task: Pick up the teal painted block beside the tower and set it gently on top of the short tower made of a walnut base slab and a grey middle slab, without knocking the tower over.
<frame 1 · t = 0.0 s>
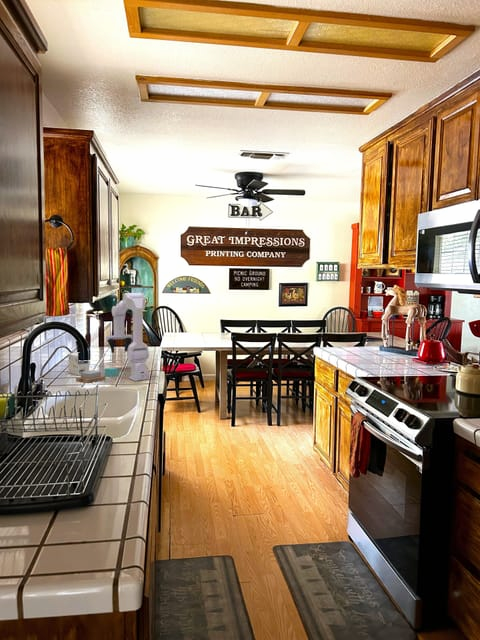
hand: (119, 351, 269), 10 cm above the countertop, tool pointing down, fingers open, 7 cm apart
teal block: (111, 375, 254), on the countertop
walnut base slab: (90, 381, 241), on the countertop, touching grey middle slab
light bulb box: (79, 373, 260), on the countertop
grey middle slab: (90, 377, 241), point 2 cm above the countertop, touching walnut base slab
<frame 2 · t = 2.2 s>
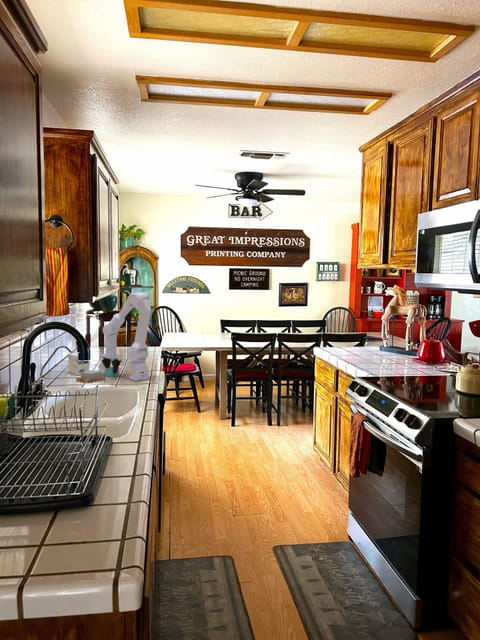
hand: (111, 372, 254), 1 cm above the countertop, tool pointing down, fingers closed on teal block, 5 cm apart
teal block: (111, 375, 254), on the countertop, touching gripper
everything else where it was.
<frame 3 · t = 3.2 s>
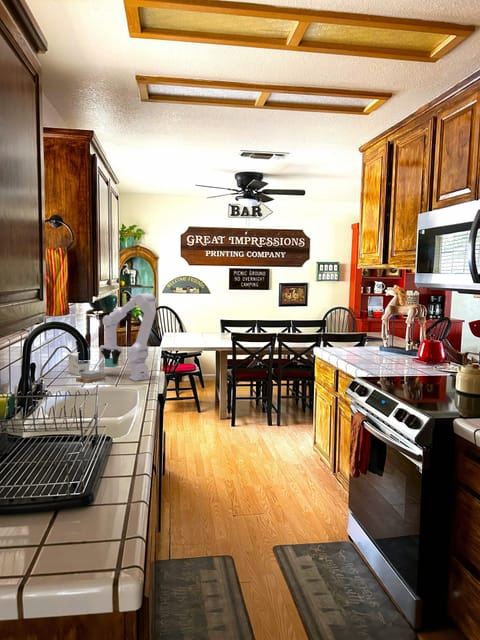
hand: (111, 363, 254), 6 cm above the countertop, tool pointing down, fingers closed on teal block, 5 cm apart
teal block: (111, 366, 254), point 5 cm above the countertop, touching gripper
everything else where it was.
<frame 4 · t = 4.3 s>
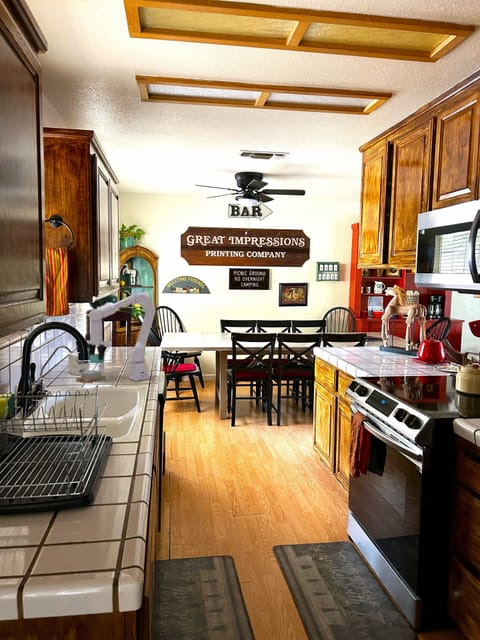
hand: (96, 359, 244), 10 cm above the countertop, tool pointing down, fingers closed on teal block, 5 cm apart
teal block: (97, 362, 245), point 8 cm above the countertop, touching gripper
walnut base slab: (90, 381, 241), on the countertop
grey middle slab: (91, 376, 241), point 2 cm above the countertop
everything else where it was.
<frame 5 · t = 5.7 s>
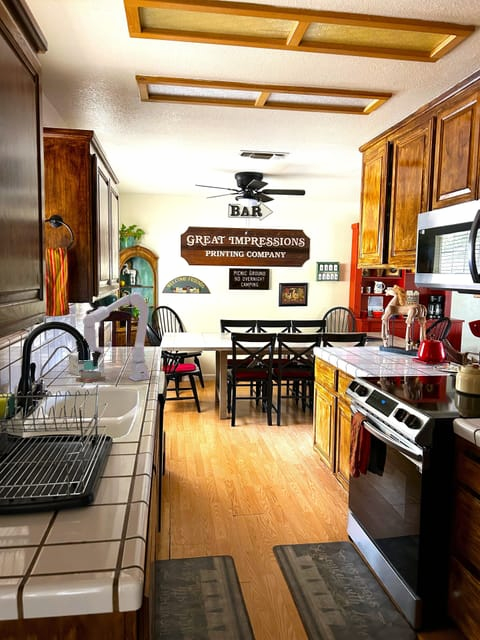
hand: (90, 366, 241), 7 cm above the countertop, tool pointing down, fingers closed on teal block, 5 cm apart
teal block: (91, 369, 241), point 6 cm above the countertop, touching gripper
walnut base slab: (90, 382, 241), on the countertop, touching grey middle slab
grey middle slab: (90, 377, 241), point 2 cm above the countertop, touching walnut base slab
everything else where it was.
when the fingers open (7 cm above the countertop, at t = 5.7 s): teal block drops 2 cm, resting on grey middle slab.
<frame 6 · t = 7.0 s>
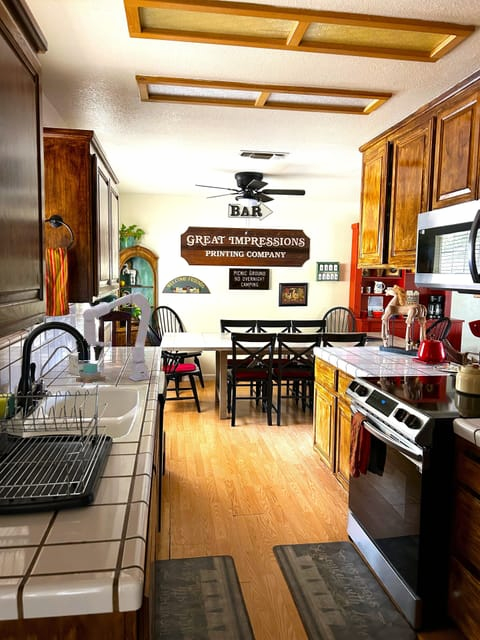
hand: (90, 360, 240), 10 cm above the countertop, tool pointing down, fingers open, 7 cm apart
teal block: (90, 372, 241), point 4 cm above the countertop, touching grey middle slab
grey middle slab: (90, 377, 241), point 2 cm above the countertop, touching teal block, walnut base slab
everything else where it was.
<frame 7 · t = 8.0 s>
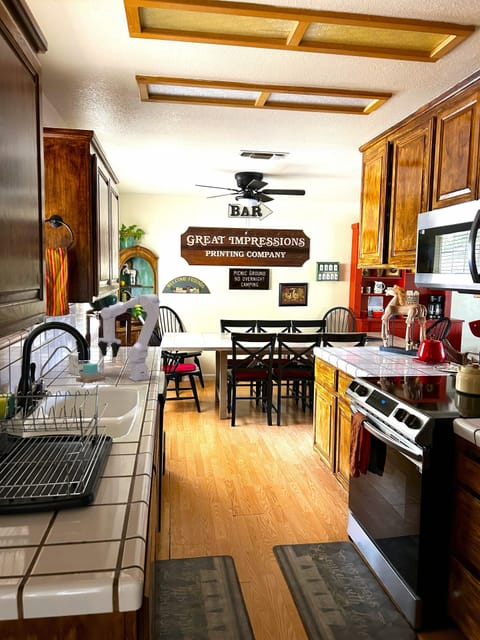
hand: (109, 356, 252), 10 cm above the countertop, tool pointing down, fingers open, 7 cm apart
nothing on the countertop moved.
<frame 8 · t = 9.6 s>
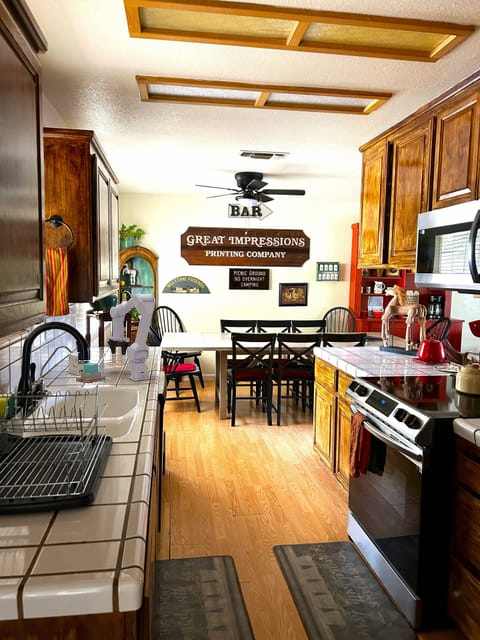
hand: (118, 354, 259), 10 cm above the countertop, tool pointing down, fingers open, 7 cm apart
nothing on the countertop moved.
at the end: teal block 0.1 cm off-centre on the grey middle slab, point 2.5 cm above the grey middle slab's base; grey middle slab moved 0.7 cm from its start; the gripper is holding nothing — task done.
